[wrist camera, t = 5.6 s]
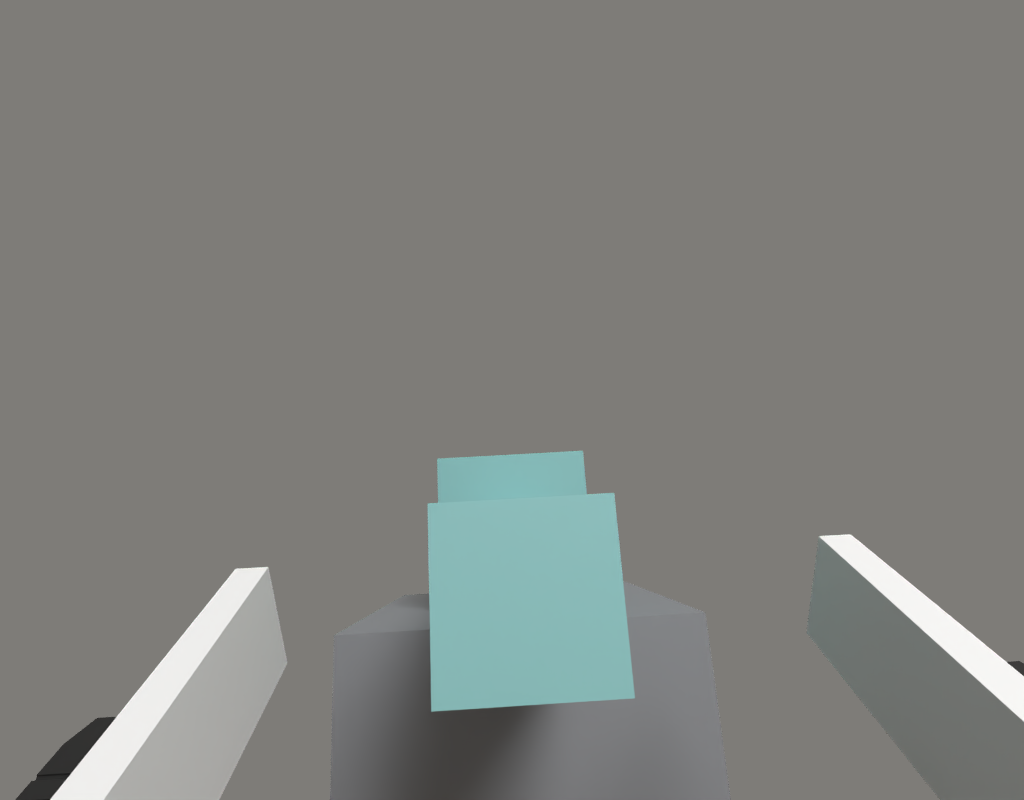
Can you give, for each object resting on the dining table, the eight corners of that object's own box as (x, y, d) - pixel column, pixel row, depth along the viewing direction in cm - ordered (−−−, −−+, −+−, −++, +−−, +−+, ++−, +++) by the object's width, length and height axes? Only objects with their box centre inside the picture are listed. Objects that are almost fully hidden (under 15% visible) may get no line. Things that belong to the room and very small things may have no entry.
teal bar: (710, 693, 11) (665, 357, 12) (354, 716, 10) (358, 372, 12) (577, 589, 31) (567, 468, 33) (455, 597, 31) (452, 474, 33)
